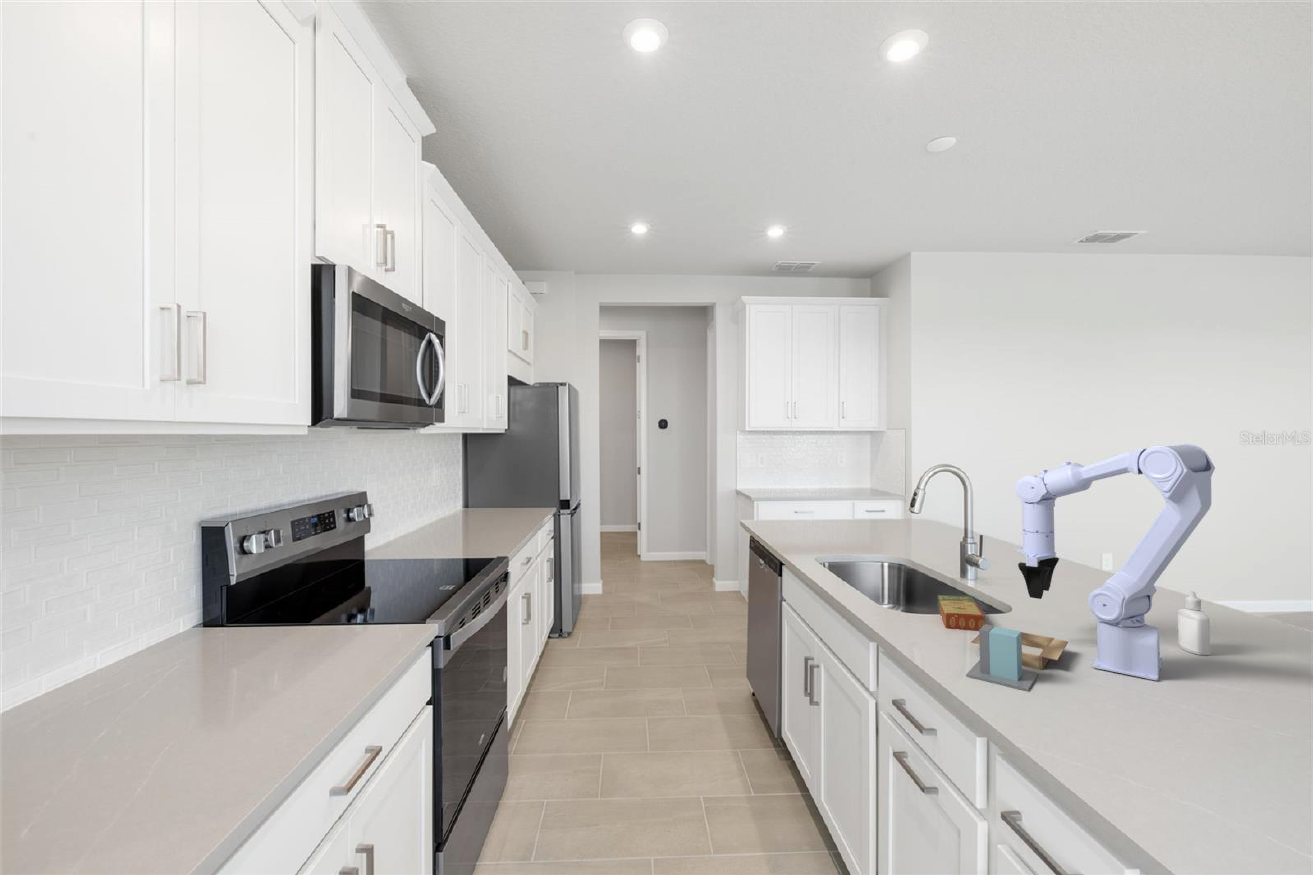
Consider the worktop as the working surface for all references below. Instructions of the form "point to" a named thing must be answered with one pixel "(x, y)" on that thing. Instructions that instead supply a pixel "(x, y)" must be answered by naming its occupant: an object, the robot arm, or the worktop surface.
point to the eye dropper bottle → (1193, 627)
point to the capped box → (1000, 652)
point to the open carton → (1049, 645)
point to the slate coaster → (1022, 683)
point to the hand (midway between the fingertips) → (1039, 593)
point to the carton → (960, 613)
